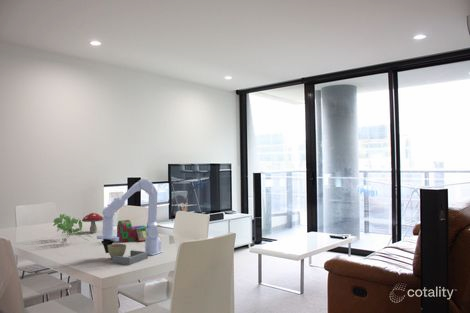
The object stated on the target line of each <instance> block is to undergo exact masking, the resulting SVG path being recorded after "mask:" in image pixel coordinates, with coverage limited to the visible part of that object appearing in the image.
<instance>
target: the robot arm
mask: <svg viewBox="0 0 470 313" xmlns="http://www.w3.org/2000/svg"><path fill="white" fill-rule="evenodd" d="M141 191H144V192H145V193H146V194H147V195H148V207H147V208H148V209H147V210H148V211H147V213H148V214H147V224H146V226H147V227H146V229H145V233H146V235H147V236H146V239H145V242H144V243H145V246H144V248H145V250H144V252H147V256H148V255H149V256H154V255H158V254H160V253H163V250H162V240H161V239H160V238H161V237H160V238H159V234H160V232H159V230H158V223H157V213H158V212H157V211H158V190H157V189H156V187H155V186H154V183H153V182H152V181H150V180H149V179H145V178H141V179H139V180H138V181H137V182H135V183H134V184H132V186H131V187H130V188H129V189H128V190H126V192H124V193H123V195H121V196H119V197H114V198H113V201H111V202H110V203H109V204H107V206H105V207H104V208H103V210H102V211H101V212H102V217H103V220H102V234H98V235H96V240H101V244H102V246H103V248H104V252H105V254H109V252H108V245H111V244H114V242H120V241H119V237H117V236H115V235H114V216H115V213H117V212H118V211H119V210H120V209H121V208H122V207H123V206H124V205H125V204H126V203H125V202H126V201H127V200H128V199H129V198H130V197H131V196H133V195H134V194H135V193H136V192H141ZM157 236H158V237H157Z"/></svg>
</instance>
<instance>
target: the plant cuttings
mask: <svg viewBox="0 0 470 313" xmlns="http://www.w3.org/2000/svg"><path fill="white" fill-rule="evenodd" d="M53 223H54V224H53V225H52V226H53V227H54V226H56V228H57V229H56V232H59V231H61V230H62V232H61V235H64V234H65V233H66V236H65V237H63V238H61V241H63V243H66V242H67V240H68V239H69V238H70V236H72V234H74V235H75V236H77V237H79V238H82V239H84V240H85V241H88V239H87V238H84V237H82V236H81V235H78V233H83V234H84V235H86V237H90V238H92V236H91V235H88V234H86V232H84V231H82V230H83V221H82V219H80V218H78V219H76V218H75V217H73V218H72V219H71V215H67V214H65V213H63V214H59V217H56V218H54V219H53ZM74 224H75V225H74ZM76 224H78V226H76ZM73 227H75V228H73ZM78 227H79V228H78Z"/></svg>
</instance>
